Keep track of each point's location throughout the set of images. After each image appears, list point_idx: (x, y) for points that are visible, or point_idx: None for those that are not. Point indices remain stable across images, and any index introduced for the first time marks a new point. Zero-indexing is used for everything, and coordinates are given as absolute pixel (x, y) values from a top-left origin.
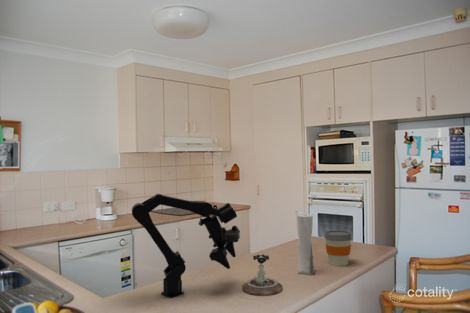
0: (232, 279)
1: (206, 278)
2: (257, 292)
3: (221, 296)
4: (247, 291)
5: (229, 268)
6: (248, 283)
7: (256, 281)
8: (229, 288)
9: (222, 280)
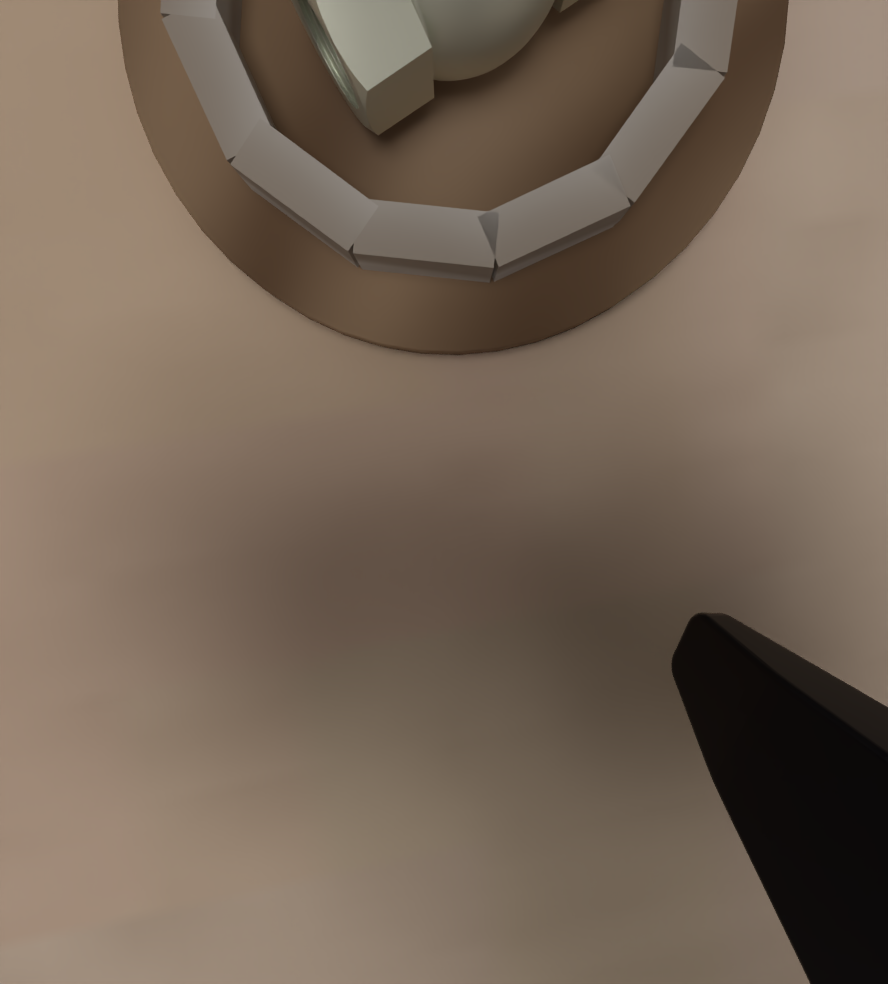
0: (90, 568)
1: (109, 944)
2: (756, 59)
3: (814, 595)
4: (692, 237)
5: (711, 626)
6: (537, 220)
7: (494, 56)
8: (491, 544)
9: (160, 706)
